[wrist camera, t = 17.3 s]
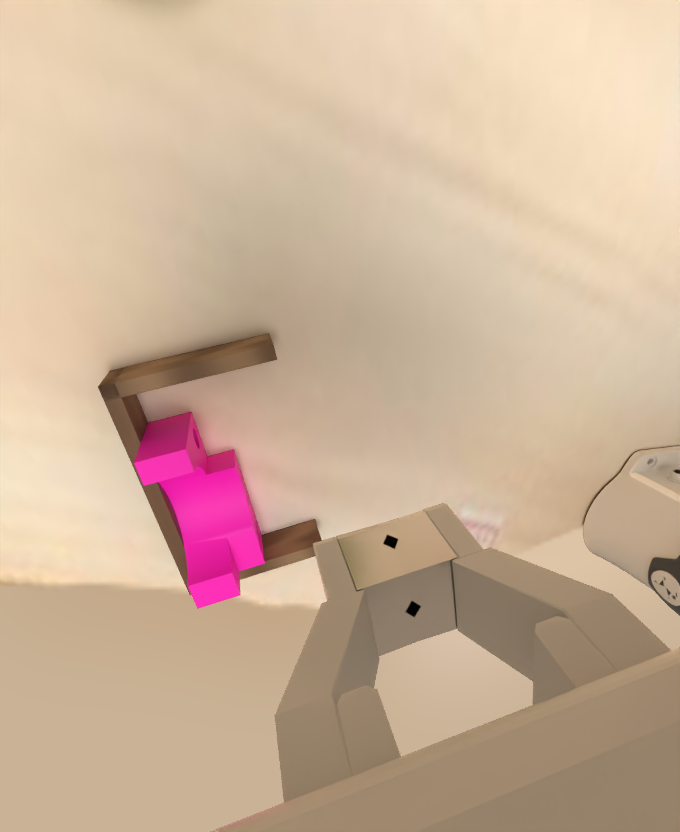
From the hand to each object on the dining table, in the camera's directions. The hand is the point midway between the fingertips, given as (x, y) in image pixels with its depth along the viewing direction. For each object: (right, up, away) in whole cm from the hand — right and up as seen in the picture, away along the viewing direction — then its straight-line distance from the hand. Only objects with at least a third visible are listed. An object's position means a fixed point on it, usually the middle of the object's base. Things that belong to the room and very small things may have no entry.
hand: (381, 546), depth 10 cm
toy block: (-13, -3, +33) cm, 36 cm away
